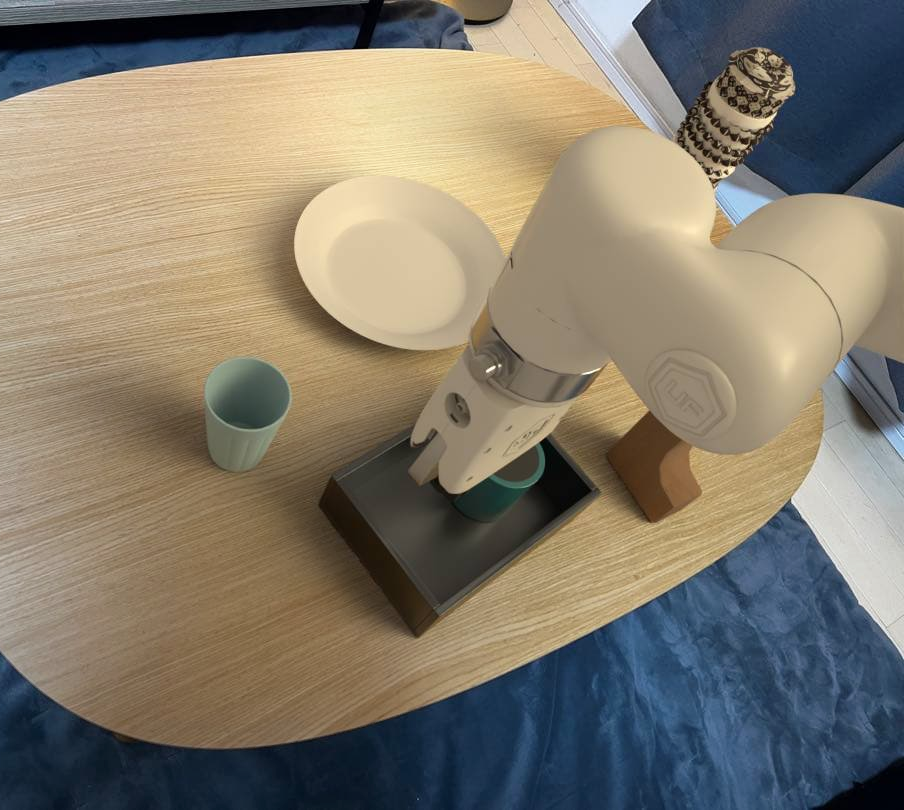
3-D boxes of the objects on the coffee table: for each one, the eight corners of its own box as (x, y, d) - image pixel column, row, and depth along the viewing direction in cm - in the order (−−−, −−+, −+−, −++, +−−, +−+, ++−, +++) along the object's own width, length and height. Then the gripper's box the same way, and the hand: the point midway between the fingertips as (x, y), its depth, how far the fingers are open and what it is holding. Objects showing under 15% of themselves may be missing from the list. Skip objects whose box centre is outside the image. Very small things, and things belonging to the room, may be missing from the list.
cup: (277, 416, 85) (292, 360, 77) (275, 485, 82) (291, 435, 73) (200, 409, 84) (207, 351, 75) (194, 479, 80) (201, 427, 71)
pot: (482, 447, 88) (511, 408, 81) (526, 500, 86) (560, 464, 79) (433, 479, 85) (459, 442, 78) (478, 534, 83) (508, 501, 76)
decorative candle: (654, 253, 110) (775, 100, 90) (609, 203, 113) (716, 44, 92) (699, 233, 114) (825, 82, 94) (654, 185, 117) (766, 28, 97)
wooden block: (681, 510, 91) (789, 430, 76) (651, 525, 89) (755, 446, 74) (633, 441, 94) (727, 351, 79) (603, 454, 92) (693, 365, 77)
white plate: (308, 373, 89) (314, 354, 86) (274, 195, 101) (278, 173, 98) (523, 363, 96) (535, 345, 93) (468, 198, 108) (477, 177, 105)
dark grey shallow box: (572, 520, 87) (603, 493, 81) (417, 639, 77) (439, 617, 71) (476, 406, 92) (498, 373, 86) (317, 504, 82) (330, 474, 76)
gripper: (489, 450, 42) (399, 577, 57) (671, 331, 49) (548, 473, 64) (397, 341, 44) (334, 492, 60) (583, 243, 51) (484, 400, 67)
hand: (445, 482), depth 62 cm, fingers closed
